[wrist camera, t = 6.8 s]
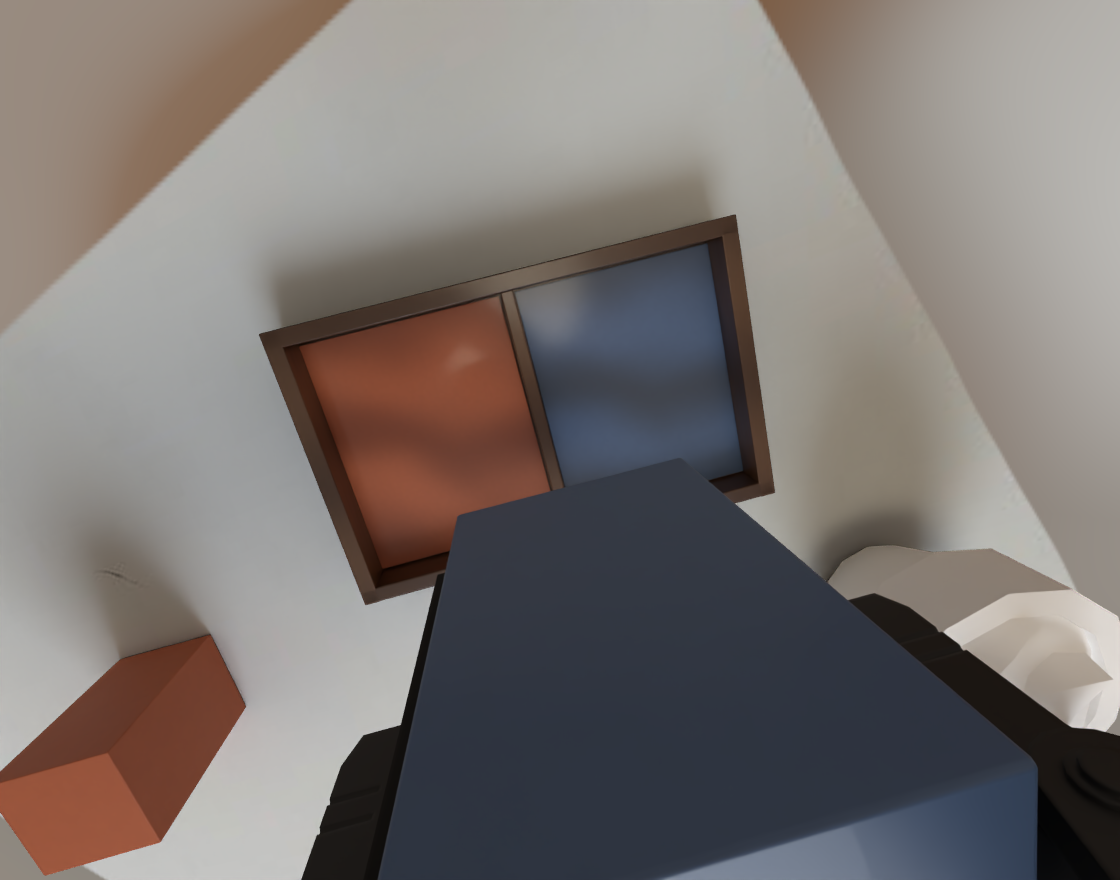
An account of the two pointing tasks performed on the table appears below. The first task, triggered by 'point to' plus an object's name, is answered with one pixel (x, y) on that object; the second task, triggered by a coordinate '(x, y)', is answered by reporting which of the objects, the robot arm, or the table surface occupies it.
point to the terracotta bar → (121, 757)
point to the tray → (524, 393)
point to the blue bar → (684, 711)
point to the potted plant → (1004, 622)
